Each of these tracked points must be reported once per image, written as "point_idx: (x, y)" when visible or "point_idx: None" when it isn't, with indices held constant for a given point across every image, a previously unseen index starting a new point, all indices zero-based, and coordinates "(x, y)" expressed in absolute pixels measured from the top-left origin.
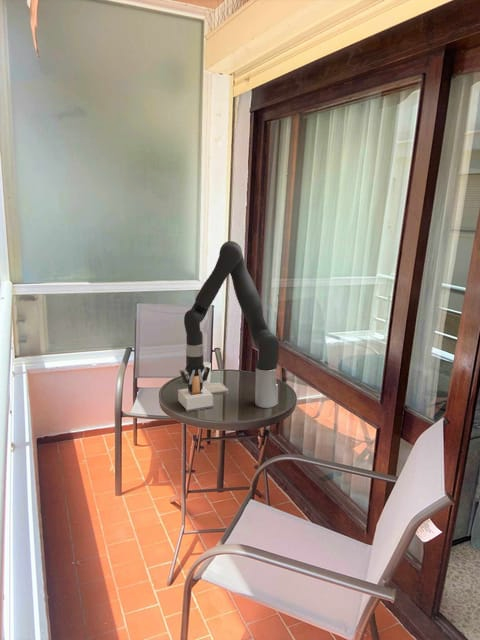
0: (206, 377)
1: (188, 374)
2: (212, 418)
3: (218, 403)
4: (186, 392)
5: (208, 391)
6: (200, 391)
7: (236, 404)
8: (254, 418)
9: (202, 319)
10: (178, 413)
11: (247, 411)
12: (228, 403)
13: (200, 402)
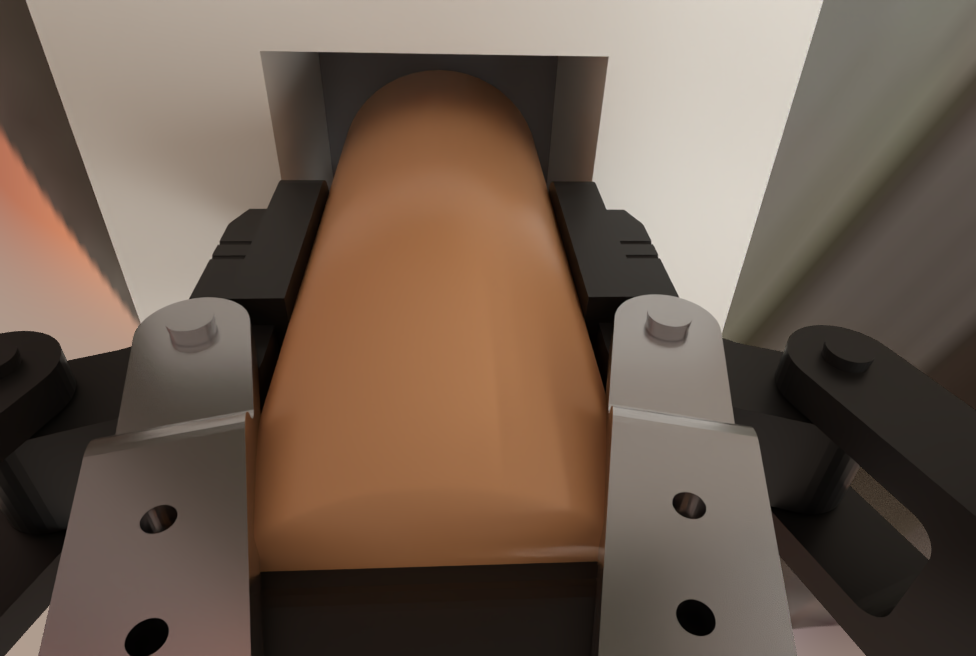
0: (847, 561)
1: (70, 561)
2: None
3: (793, 193)
4: (219, 142)
5: (722, 280)
6: (590, 164)
7: (955, 314)
8: (809, 593)
9: None
10: (114, 290)
11: (881, 489)
12: (905, 248)
13: None
